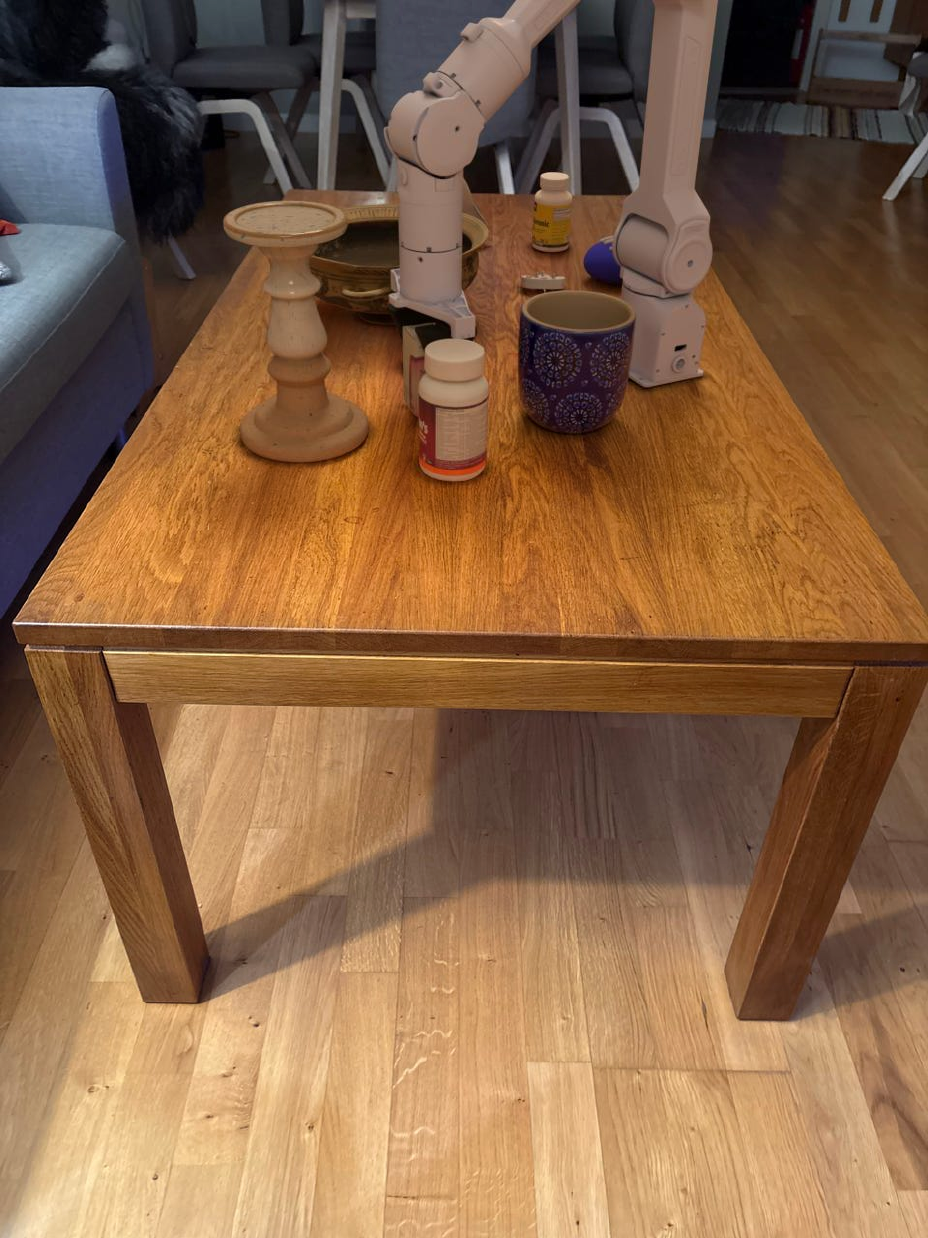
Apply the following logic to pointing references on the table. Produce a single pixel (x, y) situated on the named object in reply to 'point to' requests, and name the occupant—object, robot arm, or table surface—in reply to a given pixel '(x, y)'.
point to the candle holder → (296, 337)
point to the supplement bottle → (552, 213)
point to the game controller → (543, 281)
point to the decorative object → (602, 262)
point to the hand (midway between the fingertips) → (431, 384)
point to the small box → (412, 366)
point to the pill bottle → (453, 410)
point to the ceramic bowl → (377, 260)
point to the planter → (574, 358)
